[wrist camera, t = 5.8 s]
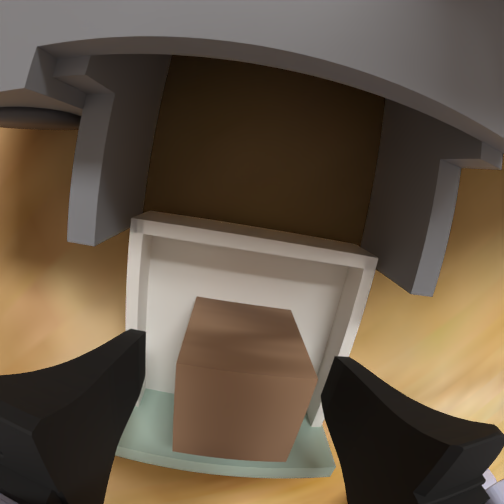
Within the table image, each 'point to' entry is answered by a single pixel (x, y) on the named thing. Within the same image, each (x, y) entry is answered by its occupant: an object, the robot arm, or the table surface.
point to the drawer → (241, 291)
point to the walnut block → (241, 382)
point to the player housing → (279, 56)
